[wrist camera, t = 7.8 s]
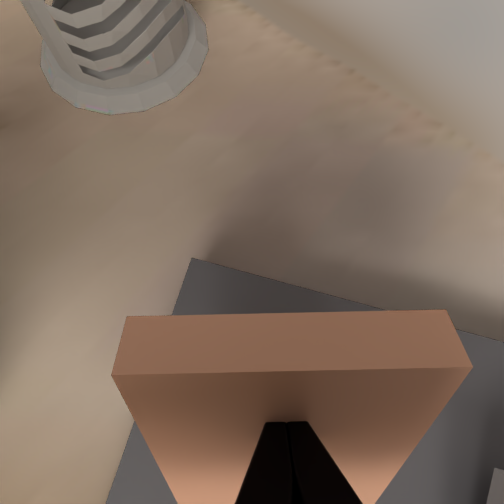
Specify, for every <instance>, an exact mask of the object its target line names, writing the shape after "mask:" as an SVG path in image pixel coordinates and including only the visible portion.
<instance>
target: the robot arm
mask: <svg viewBox="0 0 504 504" xmlns="http://www.w3.org/2000/svg"><path fill="white" fill-rule="evenodd" d="M235 504H363V503H362V502H361V500H360V499H359V497H358V496H357V494H356V493H355V491H354V490H353V488H352V487H351V485H350V484H349V482H348V481H347V479H346V478H345V476H344V475H343V473H342V472H341V470H340V469H339V467H338V466H337V464H336V463H335V461H334V460H333V458H332V457H331V455H330V454H329V452H328V451H327V449H326V448H325V446H324V445H323V443H322V442H321V440H320V439H319V437H318V436H317V434H316V433H315V431H314V430H313V428H312V427H311V425H310V424H309V422H308V421H290V422H287V424H286V422H266V423H265V424H264V426H263V429H262V432H261V434H260V437H259V440H258V442H257V445H256V448H255V450H254V453H253V456H252V458H251V461H250V464H249V466H248V469H247V472H246V474H245V477H244V480H243V482H242V485H241V488H240V491H239V493H238V496H237V499H236V501H235Z"/></svg>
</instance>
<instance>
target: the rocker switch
mask: <svg viewBox="0 0 504 504" xmlns="http://www.w3.org/2000/svg"><path fill="white" fill-rule="evenodd" d="M486 504H504V470H501V469H498V468H494V472H493V476H492V481H491V485H490V489H489V494H488V498H487V503H486Z"/></svg>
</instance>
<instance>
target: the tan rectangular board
mask: <svg viewBox="0 0 504 504" xmlns="http://www.w3.org/2000/svg"><path fill="white" fill-rule="evenodd" d="M472 368H473V366H472V363H471V361H470V359H469V357H468V355H467V353H466V351H465V349H464V347H463V344H462V342H461V340H460V338H459V336H458V334H457V332H456V330H455V327H454V325H453V323H452V321H451V319H450V317H449V315H448V313H447V310H446V309H442V310H396V311H351V312H306V313H260V314H215V315H170V316H127V318H126V321H125V325H124V329H123V333H122V337H121V340H120V344H119V348H118V352H117V355H116V359H115V363H114V367H113V370H112V374H111V376H112V377H113V379H114V381H115V383H116V385H117V387H118V389H119V391H120V393H121V395H122V397H123V399H124V401H125V403H126V404H127V406H128V408H129V410H130V412H131V414H132V416H133V418H134V420H135V422H136V424H137V426H138V428H139V430H140V432H141V433H142V435H143V437H144V439H145V441H146V443H147V445H148V447H149V449H150V451H151V453H152V455H153V457H154V459H155V460H156V462H157V464H158V466H159V468H160V470H161V472H162V474H163V476H164V478H165V480H166V482H167V484H168V486H169V488H170V489H171V491H172V493H173V495H174V497H175V499H176V501H177V503H178V504H235V501H236V499H237V496H238V493H239V491H240V488H241V485H242V482H243V480H244V477H245V474H246V472H247V469H248V466H249V464H250V461H251V458H252V456H253V453H254V450H255V448H256V445H257V442H258V440H259V437H260V434H261V432H262V429H263V426H264V424H265V423H266V422H286V424H287V422H290V421H308V422H309V424H310V425H311V427H312V428H313V430H314V431H315V433H316V434H317V436H318V437H319V439H320V440H321V442H322V443H323V445H324V446H325V448H326V449H327V451H328V452H329V454H330V455H331V457H332V458H333V460H334V461H335V463H336V464H337V466H338V467H339V469H340V470H341V472H342V473H343V475H344V476H345V478H346V479H347V481H348V482H349V484H350V485H351V487H352V488H353V490H354V491H355V493H356V494H357V496H358V497H359V499H360V500H361V502H362V503H363V504H375V503H376V501H377V500H378V498H379V497H380V496H381V494H382V493H383V491H384V490H385V489H386V487H387V486H388V484H389V483H390V482H391V480H392V479H393V478H394V476H395V475H396V473H397V472H398V471H399V469H400V468H401V466H402V465H403V464H404V462H405V461H406V460H407V458H408V457H409V455H410V454H411V453H412V451H413V450H414V448H415V447H416V446H417V444H418V443H419V441H420V440H421V439H422V437H423V436H424V435H425V433H426V432H427V430H428V429H429V428H430V426H431V425H432V423H433V422H434V421H435V419H436V418H437V416H438V415H439V414H440V412H441V411H442V410H443V408H444V407H445V405H446V404H447V403H448V401H449V400H450V398H451V397H452V396H453V394H454V393H455V391H456V390H457V389H458V387H459V386H460V385H461V383H462V382H463V380H464V379H465V378H466V376H467V375H468V373H469V372H470V371H471V369H472Z"/></svg>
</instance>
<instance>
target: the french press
mask: <svg viewBox="0 0 504 504" xmlns="http://www.w3.org/2000/svg"><path fill="white" fill-rule="evenodd" d="M20 1H21V3H22V4H23V6H24V8H25V9H26V11H27V13H28V14H29V16H30V18H31V19H32V21H33V23H34V24H35V26H36V28H37V29H38V31H39V33H40V34H41V36H42V38H43V40H42V50H41V69H42V71H43V73H44V75H45V77H46V79H47V81H48V83H49V85H50V87H51V89H52V90H53V91H54V92H55V93H57V94H58V95H60V96H61V97H62V98H64V99H65V100H67V101H68V102H69V103H71V104H72V105H74V106H75V107H76V108H81V109H85V110H89V111H94V112H98V113H102V114H107V115H114V114H123V113H132V112H141V111H146V110H148V109H150V108H152V107H155V106H157V105H159V104H161V103H163V102H166V101H168V100H170V99H172V98H174V97H176V96H177V95H178V94H179V93H180V92H181V91H182V90H183V89H184V88H185V87H186V86H187V85H189V84H190V83H191V82H192V81H193V80H194V79H195V78H196V77H197V76H198V75H199V72H200V69H201V67H202V64H203V62H204V59H205V57H206V54H207V52H208V41H207V33H206V25H205V23H204V22H203V20H202V19H201V18H200V16H199V15H198V13H197V12H196V11H195V9H194V8H193V6H192V5H191V4H190V3H188V2H186V1H185V0H53V3H52V6H49V5H47V4H46V3H45V0H20Z"/></svg>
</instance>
